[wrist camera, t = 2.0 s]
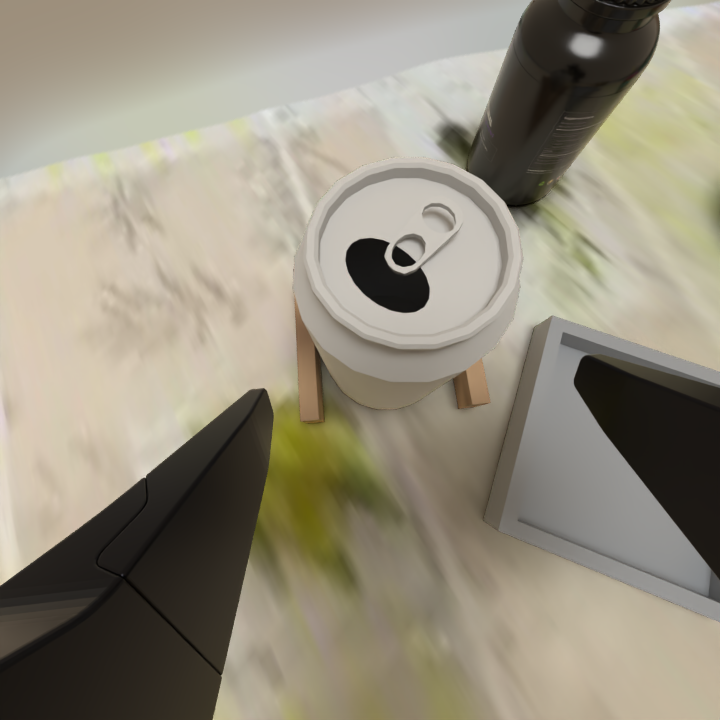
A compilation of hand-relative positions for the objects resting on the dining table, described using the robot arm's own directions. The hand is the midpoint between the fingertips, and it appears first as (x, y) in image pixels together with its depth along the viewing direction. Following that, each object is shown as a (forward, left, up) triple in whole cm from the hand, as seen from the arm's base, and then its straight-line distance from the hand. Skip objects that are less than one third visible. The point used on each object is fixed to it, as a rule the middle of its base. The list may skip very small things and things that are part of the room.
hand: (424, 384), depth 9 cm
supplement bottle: (+20, -2, -11) cm, 23 cm away
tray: (+2, -13, -11) cm, 17 cm away
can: (+3, +2, -11) cm, 12 cm away
